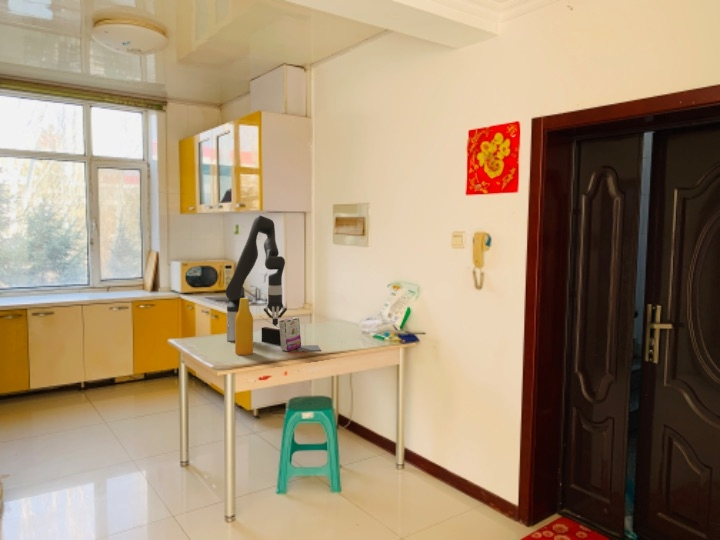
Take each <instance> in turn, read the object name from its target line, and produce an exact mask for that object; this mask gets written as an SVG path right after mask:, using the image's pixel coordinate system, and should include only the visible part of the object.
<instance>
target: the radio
mask: <svg viewBox="0 0 720 540" xmlns="http://www.w3.org/2000/svg"><path fill="white" fill-rule="evenodd" d="M259 317H260V318H262V316H261V315H260V316H259ZM264 320H265V321H267V322H268V323H270V324H272V322H271V321H268V320H267V319H265V318H264ZM275 327H276V328H275ZM275 327H268V326H264V327H261V343H266V344H270V345H271V344H272V345H275V346H280V347H281V339H280V327H279V326H275Z"/></svg>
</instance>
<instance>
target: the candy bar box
mask: <svg viewBox="0 0 720 540" xmlns="http://www.w3.org/2000/svg"><path fill="white" fill-rule="evenodd" d="M278 327H279V329H280V339H281V346H280V351H283V352H284V351H285V352H289V351H292V350H296V349H297V348H299V347H301V346H302V342H301V341H302V340H301V338H302V337H301V327H300V318H299V317H295V316H293V317H288V318H286V319H283V320H282V319H281V320H278Z"/></svg>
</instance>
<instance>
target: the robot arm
mask: <svg viewBox="0 0 720 540" xmlns="http://www.w3.org/2000/svg"><path fill="white" fill-rule="evenodd" d="M259 233H261V234H263V235H265V236H266V239H265V240H264V243H263V249H264V253H265V260H264V261H265V262H264V266H265V268H266V269H267V270H271V271H272V270H273V271H274V270H275V271H276V270H277V271H276V272H274V273H271V274H268V278H267V279H268V285H267V286H268V289H267V306H266V307H264V308H263V312H264V313H266V315H267V316H268V317H269V318H270V319H272V325H273V326H275V327H276V326H277V325H279V319H281V318H282V317H283V316H284V314H285V313H286V312H287V309H288V308H287V307H286V306H284V304H283V286H282V285H283V283H282V282H283V281H282V280H283V272H284V269H285V265H286V261H285V260H286V259H285V257H283V256H279V249H278V244H277V242H276V228H275V222H274V221H273V219H270V218H268V217H265V216H263V215H257V216H256V217H255V218H254V220H253V222H252V225H251V228H250V232H249V234H248V238H247V240H246V242H245V245H244V247H243V249H242V252H241V255H240V256H239V259H238V261H237V264H236V267H235V271H234V273H233V275H232V276H231V279H230V281H229V283H228V285H227V286H226V288H225V296H226V298H227V299H228V303H227V306H226V342H235V319H236V315H237V313H238V311H239V304H240V298H245V288H244V284H245V282H246V279H247V277H248V276H249V275H250V273H251V271H252V270H253V268H254V266H255V264H256V262H257V259H258V257H259V249H258V245H257V238H258V234H259ZM269 311H270V312H271V314H270V312H269ZM277 327H278V326H277Z"/></svg>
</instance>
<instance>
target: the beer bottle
mask: <svg viewBox="0 0 720 540" xmlns="http://www.w3.org/2000/svg"><path fill="white" fill-rule="evenodd" d="M234 342H235V346H234V351H235V352H234V353H235V354H236V355H238V356H248V355H251V354H252V355H253V353H254V316H253V315H252V312H251V310H250V302H249V298H248V297H244V298H240V304H239V311H238V313H237V315H236V319H235V341H234Z"/></svg>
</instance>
